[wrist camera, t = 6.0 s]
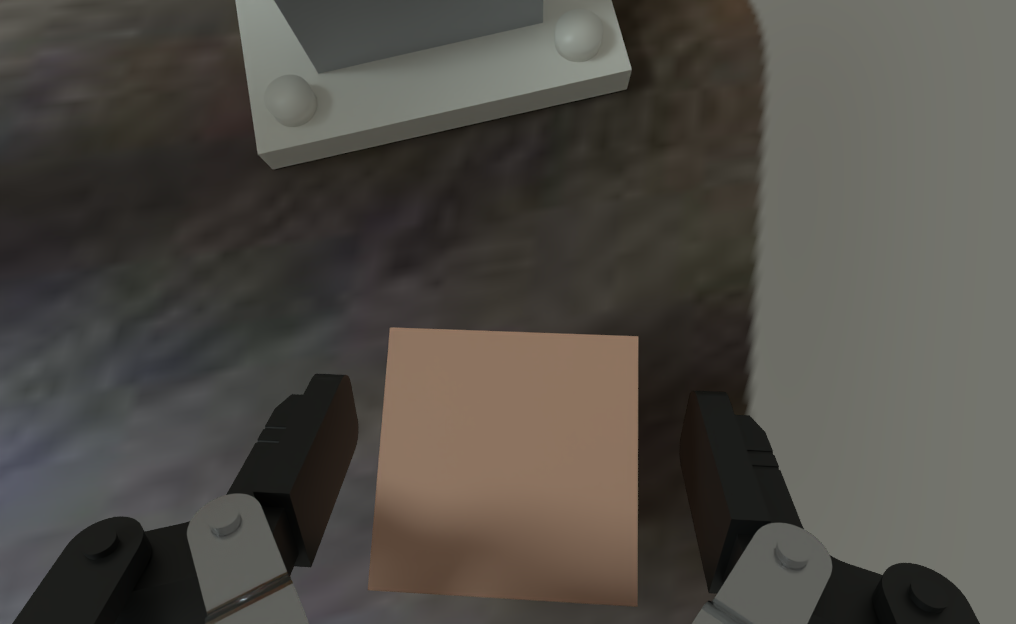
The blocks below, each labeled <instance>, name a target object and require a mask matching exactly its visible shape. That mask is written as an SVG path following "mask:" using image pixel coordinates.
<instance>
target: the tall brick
mask: <svg viewBox="0 0 1016 624" xmlns="http://www.w3.org/2000/svg"><path fill="white" fill-rule="evenodd" d="M368 590H374V591H390V592H406V593H422V594H439V595H455V596H471V597H488V598H504V599H520V600H537V601H553V602H569V603H585V604H602V605H618V606H634V607H637V598H638V336H614V335H587V334H559V333H531V332H504V331H476V330H448V329H420V328H393V327H390V334H389V345H388V357H387V369H386V381H385V393H384V405H383V416H382V428H381V440H380V452H379V464H378V475H377V487H376V499H375V511H374V523H373V534H372V546H371V558H370V570H369V582H368Z"/></svg>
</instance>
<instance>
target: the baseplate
mask: <svg viewBox="0 0 1016 624" xmlns="http://www.w3.org/2000/svg"><path fill="white" fill-rule="evenodd" d="M235 1H236V8H237V15H238V22H239V29H240V36H241V42H242V49H243V56H244V63H245V70H246V77H247V84H248V91H249V98H250V104H251V111H252V118H253V125H254V132H255V139H256V146H257V153H258V155H259V156H260V157H261V158H262V159H263V160H264V161H265V162H266V163H267V164H268V165H269V166H270V167H271V168H272V169H278V168H282V167H286V166H291V165H295V164H300V163H304V162H308V161H313V160H317V159H322V158H326V157H330V156H335V155H339V154H344V153H348V152H353V151H357V150H361V149H366V148H370V147H375V146H379V145H383V144H388V143H392V142H397V141H401V140H405V139H410V138H414V137H419V136H423V135H427V134H432V133H436V132H441V131H445V130H450V129H454V128H458V127H463V126H467V125H472V124H476V123H480V122H485V121H489V120H494V119H498V118H502V117H507V116H511V115H516V114H520V113H524V112H529V111H533V110H538V109H542V108H547V107H551V106H555V105H560V104H564V103H569V102H573V101H577V100H582V99H586V98H591V97H595V96H599V95H604V94H608V93H613V92H617V91H621V90H626V89H627V87H628V83H629V79H630V75H631V71H632V69H631V65H630V62H629V58H628V55H627V51H626V48H625V45H624V41H623V38H622V34H621V31H620V28H619V24H618V21H617V17H616V14H615V11H614V7H613V4H612V0H235Z"/></svg>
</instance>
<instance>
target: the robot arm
mask: <svg viewBox="0 0 1016 624" xmlns="http://www.w3.org/2000/svg"><path fill="white" fill-rule="evenodd" d="M357 440H358V419H357V414H356V408H355V403H354V398H353V392H352V387H351V382H350V379H349V377H348V376H347V375H333V374H315V375H314V376H313V377H312V379H311V381H310V383H309V385H308V387H307V389H306V391H305V392H304V394H303V395H295V394H292V395H290V396H289V397H288V398H287V399H286V400H285V401H283V402H282V403H281V404H280V405H279V406H278V407H276V408H275V409H274V411H273V413H272V415H271V417H270V418H269V420H268V422H267V424H266V425H265V429H263V431H262V433H261V434H260V436H259V438H258V442H257V443H255V445H254V447H253V449H252V450H251V452H250V454H249V456H248V457H247V459H246V461H245V463H244V465H243V466H242V468H241V470H240V472H239V473H238V475H237V477H236V479H235V480H234V482H233V484H232V486H231V488H230V489H229V491H228V493H227V494H226V495H225V496H222V497H219V498H216V499H214V500H212V501H210V502H209V503H207V504H206V505H204V506H203V507H202V508H201V509H200V510H199V511H198V512H197V513H196V514H195V515H194V516H193V518H192V519H191V521H189V522H186V523H182V524H178V525H173V526H169V527H164V528H159V529H155V530H150V531H146V532H144V530H143V528H142V526H141V525H140V523H139V522H138V521H137V520H135V519H133V518H129V517H113V518H108V519H105V520H102V521H99V522H97V523H95V524H93V525H91V526H89V527H87V528H86V529H84V530H83V531H81V532H80V533H79V534H78V535H76V536H75V537H74V538H73V539H72V540H71V541H70V542H69V544H68V545H67V546H66V548H65V549H64V550H63V552H62V553H61V555H60V556H59V558H58V559H57V560H56V562H55V563H54V565H53V566H52V568H51V569H50V570H49V572H48V573H47V575H46V576H45V578H44V579H43V580H42V582H41V583H40V585H39V586H38V588H37V589H36V591H35V592H34V593H33V595H32V596H31V598H30V599H29V601H28V602H27V603H26V605H25V606H24V608H23V609H22V611H21V612H20V613H19V615H18V616H17V618H16V619H15V621H14V622H13V623H12V624H309V622H308V620H307V617H306V615H305V612H304V610H303V607H302V605H301V602H300V600H299V597H298V595H297V592H296V590H295V587H294V585H293V582H292V580H291V577H290V575H291V572H292V570H293V567H294V566H300V567H311V566H312V564H313V561H314V558H315V556H316V553H317V550H318V547H319V545H320V542H321V539H322V537H323V534H324V531H325V529H326V526H327V523H328V521H329V518H330V515H331V513H332V510H333V507H334V505H335V502H336V499H337V497H338V494H339V491H340V489H341V486H342V483H343V481H344V478H345V475H346V472H347V470H348V467H349V464H350V462H351V459H352V456H353V454H354V451H355V448H356V445H357ZM680 463H681V468H682V473H683V478H684V482H685V487H686V491H687V496H688V500H689V505H690V509H691V514H692V519H693V523H694V528H695V532H696V537H697V541H698V546H699V550H700V555H701V560H702V564H703V569H704V573H705V578H706V582H707V587H708V592H709V593H717V595H716V597H715V598H714V600H713V601H712V602H711V601H708V602H707V603H706V604H705V605H704V606H703V608H702V609H701V610H700V612H699V613H698V615H697V617H696V618H695V620H694V621H693V623H692V624H980V623H979V621H978V619H977V618H976V616H975V614H974V612H973V610H972V608H971V606H970V604H969V602H968V601H967V599H966V597H965V596H964V595H963V594H962V592H961V591H960V590H959V589H958V588H957V587H956V586H955V585H954V584H953V583H952V582H950V581H949V580H948V579H947V578H945V577H944V576H942V575H941V574H939V573H937V572H935V571H934V570H932V569H929V568H927V567H924V566H921V565H917V564H912V563H899V564H895V565H892V566H891V567H889V568H888V569H887V570H886V571H885V572H884V574H883V575H880V574H878V573H875V572H872V571H868V570H866V569H862V568H859V567H856V566H853V565H850V564H847V563H845V562H842V561H840V560H838V559H836V558H833V557H832V556H830V555H829V553H828V551H827V550H826V548H825V547H824V546H823V544H822V543H821V542H820V541H819V540H818V539H817V538H816V537H815V536H813V535H812V534H811V533H809V532H807V531H806V530H804V528H803V526H802V524H801V522H800V519H799V517H798V514H797V512H796V509H795V506H794V504H793V501H792V499H791V496H790V494H789V491H788V489H787V486H786V484H785V481H784V479H783V476H782V474H781V471H780V470H779V468H778V467H779V466H778V463H777V461H776V458H775V456H774V455H773V451H772V448H771V445H770V443H769V440H768V438H767V435H766V433H765V431H764V430H762V428H761V427H760V426H759V425H758V424H757V423H756V422H755V421H754V420H753V419H752V418H751V417H750V416H747V415H735V414H734V412H733V409H732V406H731V403H730V400H729V397H728V395H727V393H726V392H713V391H692V392H691V393H690V396H689V400H688V405H687V410H686V415H685V419H684V424H683V429H682V433H681V439H680Z"/></svg>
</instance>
